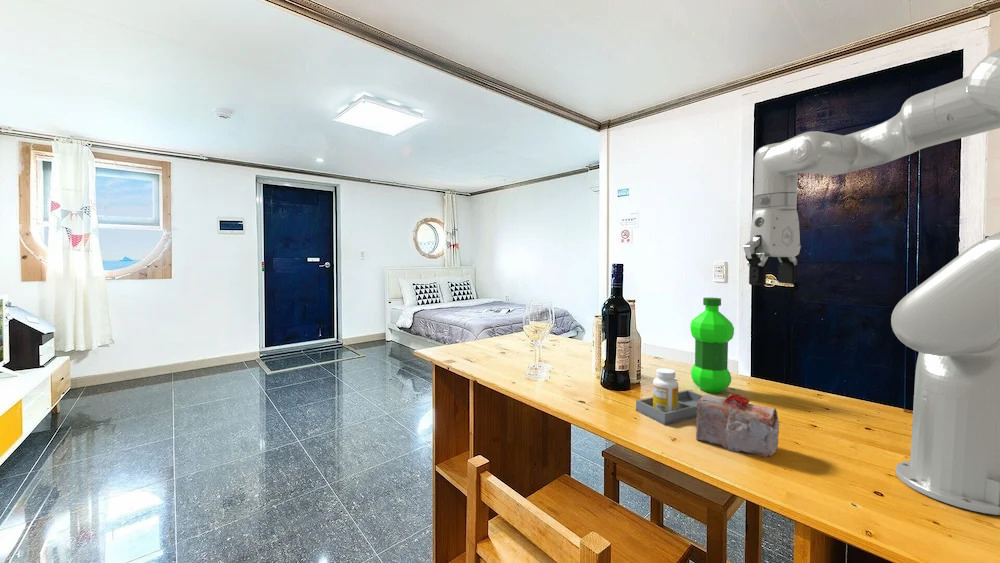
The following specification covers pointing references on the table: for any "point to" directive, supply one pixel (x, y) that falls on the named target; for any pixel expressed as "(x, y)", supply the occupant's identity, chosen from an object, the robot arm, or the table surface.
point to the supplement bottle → (665, 390)
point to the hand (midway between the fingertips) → (772, 283)
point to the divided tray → (684, 412)
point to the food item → (737, 424)
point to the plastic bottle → (711, 347)
